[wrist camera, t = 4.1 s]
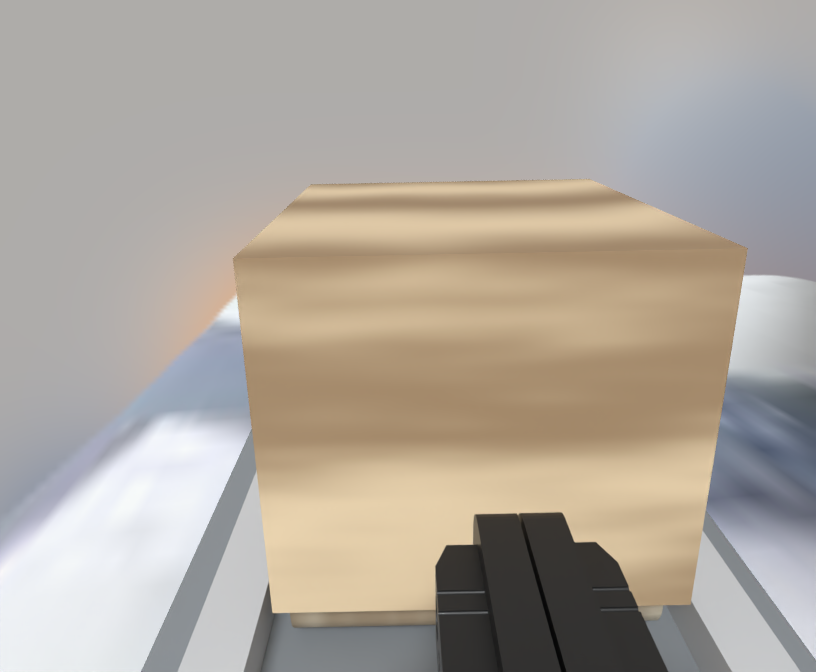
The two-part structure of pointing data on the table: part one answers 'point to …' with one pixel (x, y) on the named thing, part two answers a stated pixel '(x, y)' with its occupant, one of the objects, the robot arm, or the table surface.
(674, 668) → the roller track
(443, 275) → the wood grain cube
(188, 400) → the table surface
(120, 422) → the table surface
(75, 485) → the table surface
